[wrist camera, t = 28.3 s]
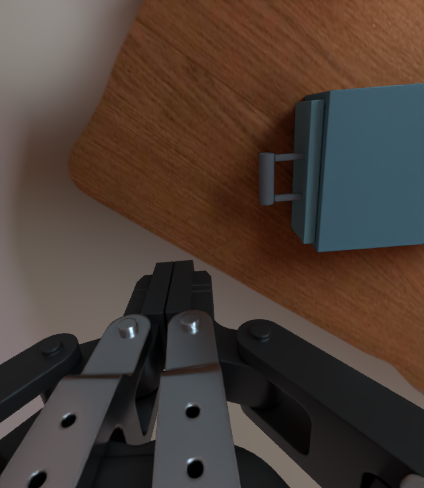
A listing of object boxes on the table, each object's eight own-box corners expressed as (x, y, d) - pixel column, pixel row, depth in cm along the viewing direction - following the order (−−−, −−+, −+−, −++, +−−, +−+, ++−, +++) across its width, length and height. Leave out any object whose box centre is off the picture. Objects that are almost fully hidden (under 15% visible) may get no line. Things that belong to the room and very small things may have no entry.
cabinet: (298, 229, 36) (317, 252, 30) (304, 95, 31) (330, 90, 24) (459, 216, 36) (512, 237, 30) (497, 79, 30) (571, 70, 24)
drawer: (254, 230, 35) (261, 247, 31) (252, 106, 30) (260, 104, 25) (447, 215, 35) (482, 230, 31) (479, 87, 30) (528, 82, 25)
